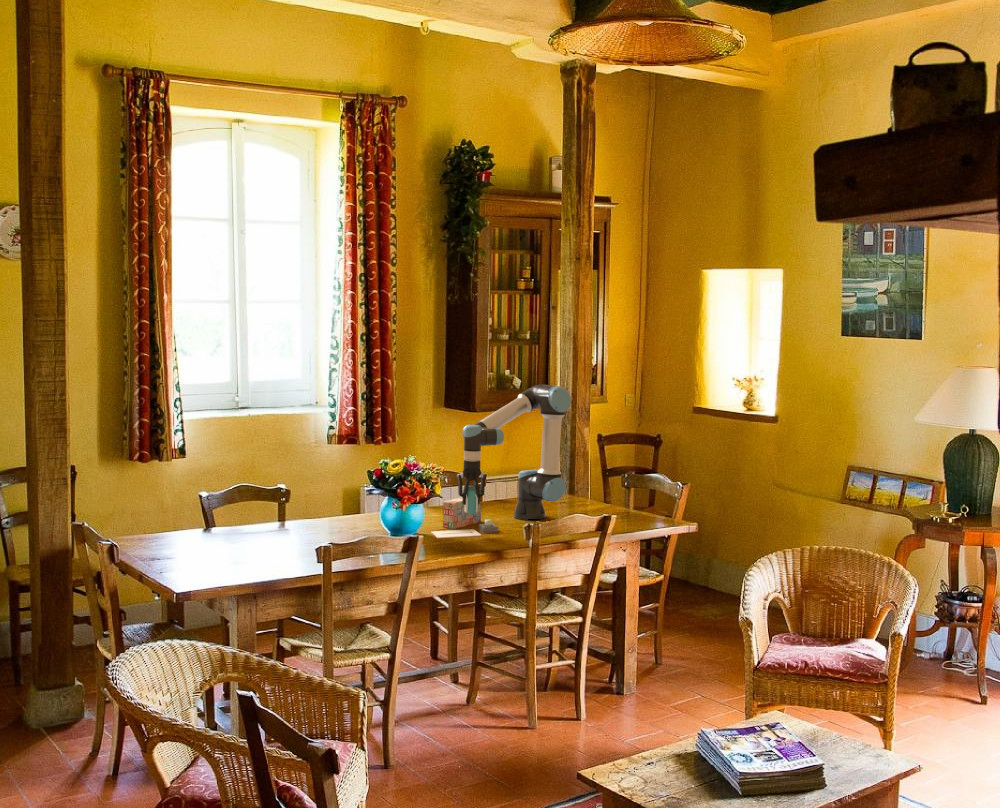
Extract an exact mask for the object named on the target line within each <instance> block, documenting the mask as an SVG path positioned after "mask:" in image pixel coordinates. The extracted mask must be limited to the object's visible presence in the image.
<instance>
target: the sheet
mask: <svg viewBox="0 0 1000 808" xmlns="http://www.w3.org/2000/svg"><path fill="white" fill-rule="evenodd" d="M430 533H431V534H432V535H433V536H434V537H436V538H437V539H447V538H448V539H451V538H467V537H468V538H469V537H471V538H472V537H482V534H481V533H479V532H478V531H477V530H475V529H474V528H473V529H472V528H471V529H457V530H456V529H451V530H437V531H435V530H434V531H430Z"/></svg>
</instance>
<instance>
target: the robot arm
mask: <svg viewBox="0 0 1000 808" xmlns="http://www.w3.org/2000/svg"><path fill="white" fill-rule="evenodd" d="M571 403H572V398H571V395H570V392H569V391H568V390H567V389H566V388H565V387H562V386H559V385H549V384H544V383H543V384H542V383H541V384H537V385H533V386H531V387H530V388H528V389H526V390H524V391H522V392H521V393H519V394H518V395H517V398H515V399H513V400H512V401H510V402H509V403H507V404H505V405H504V406H502V407H500V408H499V409H497V410H496V411H494V412H493V413H490V414H489V415H487V416H485V417H484V418H483V419H481V420H479V421H478V422H476V423H474V424H467V425H465V426H464V427H463V428H462V433H461V434H462V437H463V459H464V460H463V470H462V472H461V473H457V474H456V477H457V482H458V485H457V486H458V488H457V489H458V490H457V491H458V496H459V497H460V498H463V502H462V503H463V505H464V511H465V512H468V498H467V491H468V487H469V486H470V483H471V481H473V486H476V509H475V512H478V504H480V502H481V497H482V496H485V490H486V489H485V487H486V486H485V485H486V478H487V476H488V475H487V474H486V473H484V472H482V470H481V459H482V457H481V451H482V447H484V446H485V447H488V446H499V445H501V444H503V442H504V441H505V434H504V431H503V430H502V429H501V428H502V427H503V426H504V425H506V424H507V423H510V422H512V421H513V420H514V419H516V418H518V417H519V416H521V415H524V413H530V412H532V411H534V410H538V409H540V415H541V416H542V418H543V422H542V434H541V435H542V438H541V453H540V454H541V455H540V456H541V457H540V467H539V468H538V469H526V470H525V469H524V470H520V471H519V472H518V478H517V503H516V505H515V509H514V512H513V517H514V519H518V520H522V521H529V520H528V519H540V520H544V519H545V518H546V510H545V507H544V504H543V501H546V502H551V503H552V502H557V501H559V500H561V499H562V498H563V496H564V495H565V493H566V488H567V486H566V482H565V480H563V478H562V472H561V470H560V469H559V467H560V452H561V451H560V449H561V435H562V433H561V432H562V421H563V418H564V417H565V416H566V412H567V411H568V410H569V408H570V407H571ZM463 478H464V479H465V480H464V482H465V483H464V487H463ZM479 478H480V486H479ZM543 518H544V519H543Z"/></svg>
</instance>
